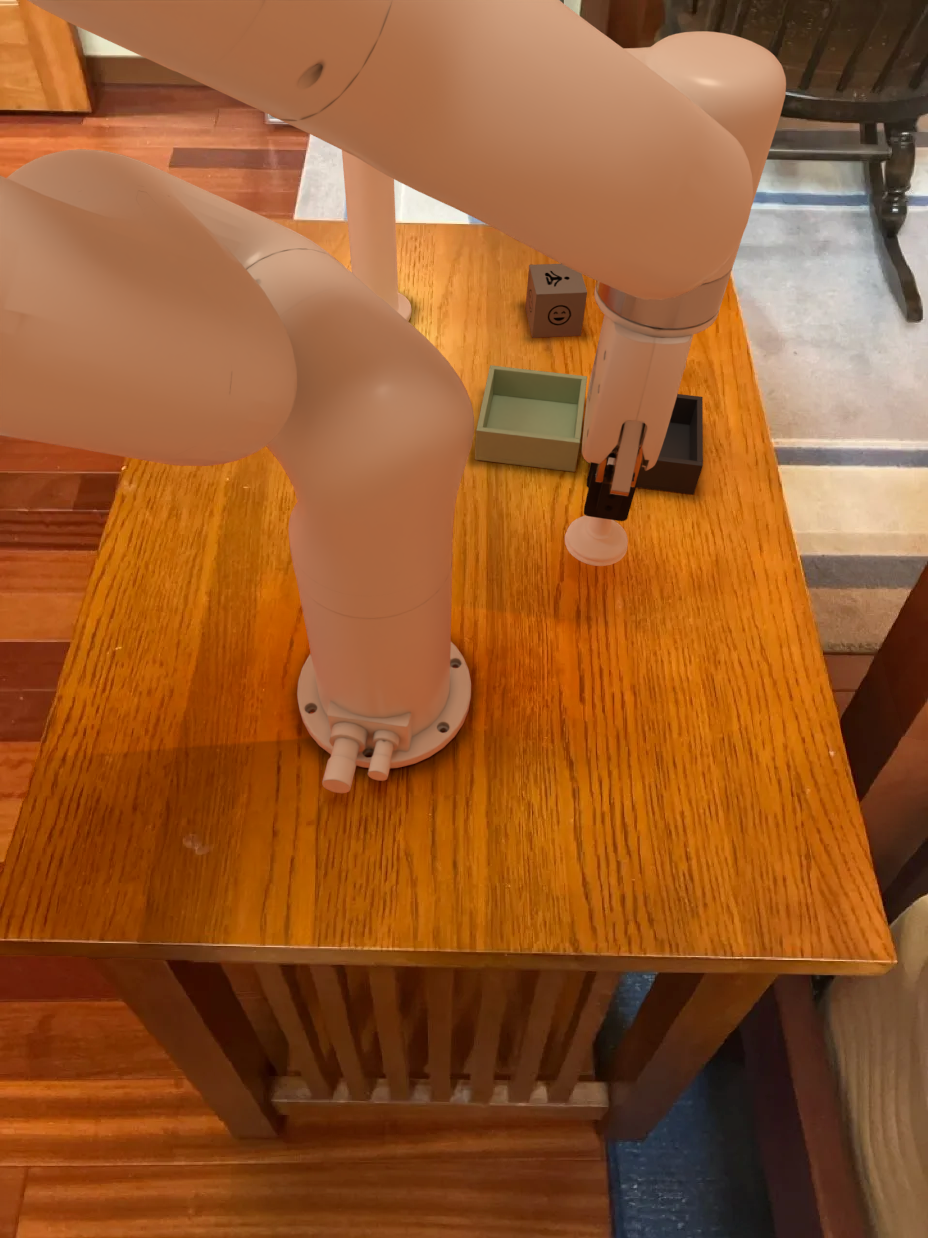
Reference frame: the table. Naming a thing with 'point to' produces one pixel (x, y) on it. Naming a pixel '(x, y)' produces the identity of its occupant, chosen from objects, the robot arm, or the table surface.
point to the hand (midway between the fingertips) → (606, 500)
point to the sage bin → (531, 418)
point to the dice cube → (555, 301)
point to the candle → (373, 230)
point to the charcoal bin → (678, 450)
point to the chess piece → (596, 539)
